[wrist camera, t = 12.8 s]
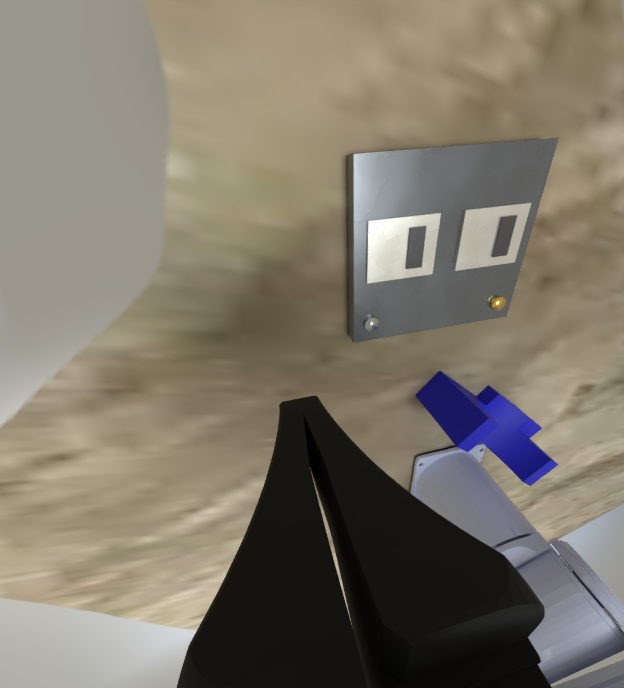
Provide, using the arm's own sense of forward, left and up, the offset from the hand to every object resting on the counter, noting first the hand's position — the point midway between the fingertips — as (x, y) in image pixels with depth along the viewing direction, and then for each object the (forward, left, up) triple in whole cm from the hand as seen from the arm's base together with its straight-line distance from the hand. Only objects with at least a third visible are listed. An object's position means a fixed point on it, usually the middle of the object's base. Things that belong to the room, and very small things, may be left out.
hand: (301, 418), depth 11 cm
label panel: (+3, -11, -10) cm, 15 cm away
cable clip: (-12, -17, -10) cm, 23 cm away
